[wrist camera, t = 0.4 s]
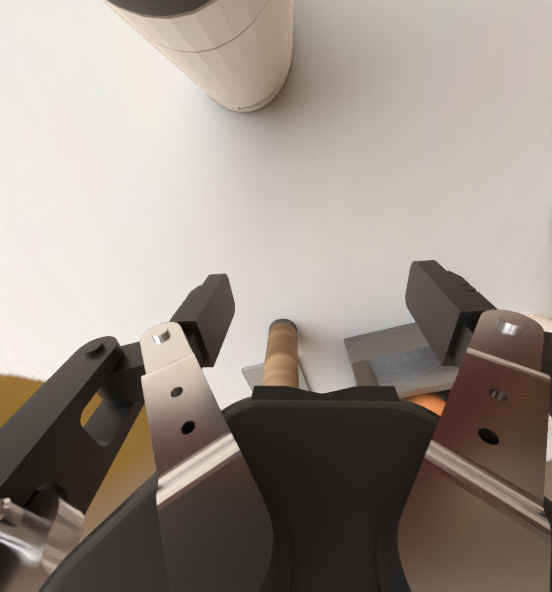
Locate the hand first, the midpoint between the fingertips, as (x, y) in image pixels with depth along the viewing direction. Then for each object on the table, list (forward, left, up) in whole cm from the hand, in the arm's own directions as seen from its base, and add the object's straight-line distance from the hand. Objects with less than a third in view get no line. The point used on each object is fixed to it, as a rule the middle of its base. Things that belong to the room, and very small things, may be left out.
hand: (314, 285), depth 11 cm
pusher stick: (+15, -7, -19) cm, 25 cm away
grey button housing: (+26, +8, -19) cm, 33 cm away
